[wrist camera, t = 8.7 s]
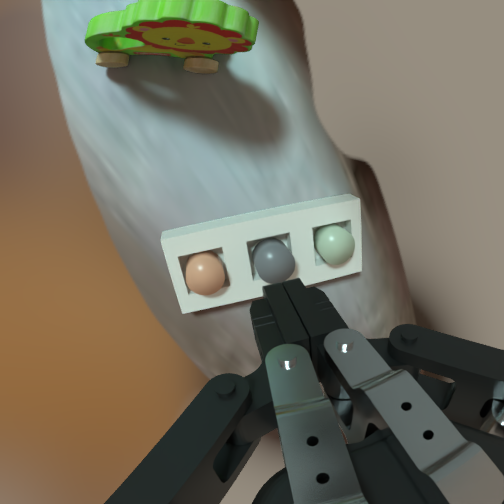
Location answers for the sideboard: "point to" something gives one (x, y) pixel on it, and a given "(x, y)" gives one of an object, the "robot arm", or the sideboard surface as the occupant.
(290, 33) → the sideboard surface
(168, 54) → the toy lion
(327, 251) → the sage button
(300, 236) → the button board
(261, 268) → the charcoal button
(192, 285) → the terracotta button
